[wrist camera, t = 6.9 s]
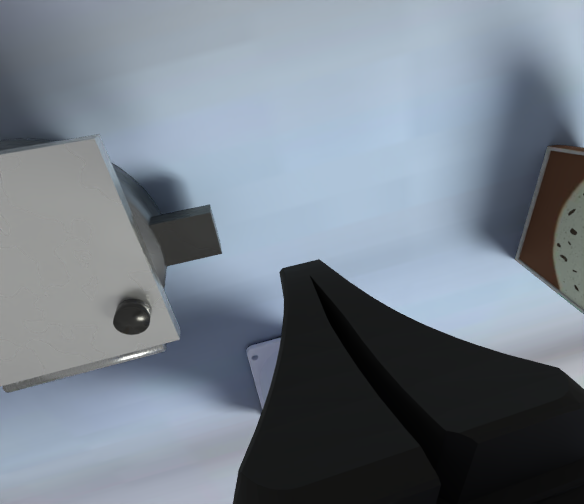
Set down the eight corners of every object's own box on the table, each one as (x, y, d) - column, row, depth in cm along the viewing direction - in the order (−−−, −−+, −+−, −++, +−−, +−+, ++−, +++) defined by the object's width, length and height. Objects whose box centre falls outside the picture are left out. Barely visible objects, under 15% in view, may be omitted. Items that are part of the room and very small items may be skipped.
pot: (237, 300, 23) (242, 331, 20) (-32, 367, 21) (-64, 412, 18) (186, 110, 16) (185, 121, 14) (-216, 175, 14) (-308, 204, 11)
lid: (184, 339, 20) (183, 360, 18) (-5, 388, 18) (-21, 415, 17) (99, 134, 13) (89, 144, 12) (-202, 184, 12) (-251, 202, 10)
